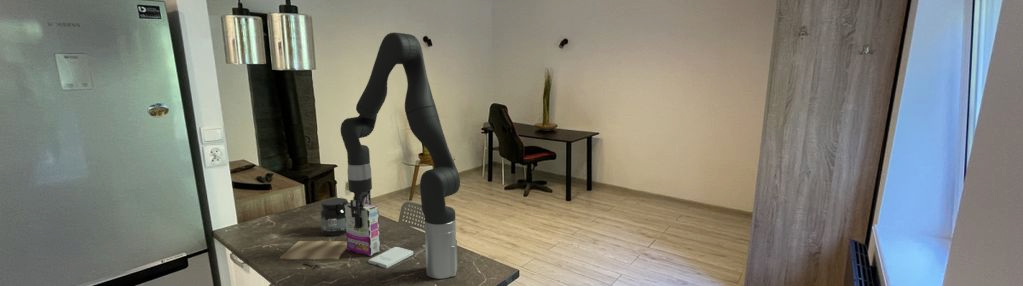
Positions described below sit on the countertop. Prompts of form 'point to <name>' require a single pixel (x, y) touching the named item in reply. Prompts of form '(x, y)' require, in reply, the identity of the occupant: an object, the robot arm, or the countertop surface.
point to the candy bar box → (363, 231)
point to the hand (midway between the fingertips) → (362, 223)
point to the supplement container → (333, 216)
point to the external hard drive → (391, 257)
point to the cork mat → (316, 250)
